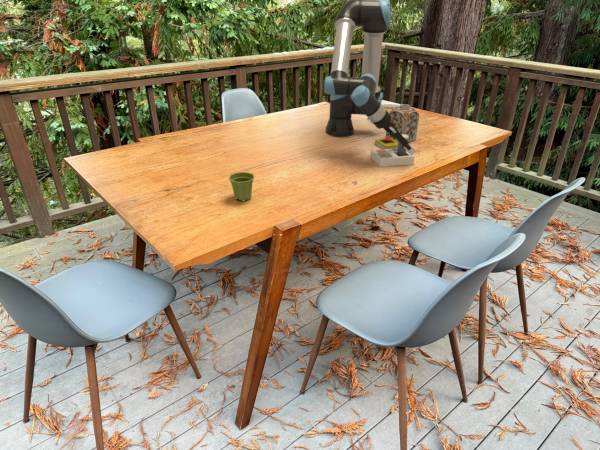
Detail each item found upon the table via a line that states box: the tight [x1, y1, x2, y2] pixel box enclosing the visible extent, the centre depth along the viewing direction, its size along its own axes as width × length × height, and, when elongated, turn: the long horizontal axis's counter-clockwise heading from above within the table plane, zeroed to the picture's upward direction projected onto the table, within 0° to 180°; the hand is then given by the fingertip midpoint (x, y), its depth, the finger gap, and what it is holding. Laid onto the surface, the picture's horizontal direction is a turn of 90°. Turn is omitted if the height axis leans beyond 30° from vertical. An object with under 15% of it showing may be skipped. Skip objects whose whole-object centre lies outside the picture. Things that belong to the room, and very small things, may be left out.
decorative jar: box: [384, 103, 420, 143], centre depth 211 cm, size 12×12×18 cm
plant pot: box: [228, 171, 256, 201], centre depth 154 cm, size 9×9×9 cm
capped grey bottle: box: [397, 134, 409, 156], centre depth 187 cm, size 4×4×12 cm
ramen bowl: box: [381, 103, 402, 113], centre depth 242 cm, size 25×23×8 cm
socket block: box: [370, 148, 416, 168], centre depth 189 cm, size 12×16×4 cm
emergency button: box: [372, 137, 398, 149], centre depth 205 cm, size 9×4×15 cm
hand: (409, 149), depth 188 cm, fingers open, 8 cm apart
